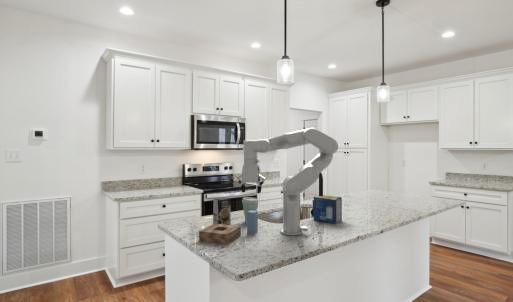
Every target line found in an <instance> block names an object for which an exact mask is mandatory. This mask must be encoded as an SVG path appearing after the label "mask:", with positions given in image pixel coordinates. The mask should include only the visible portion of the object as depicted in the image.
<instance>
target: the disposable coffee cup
mask: <svg viewBox="0 0 513 302" xmlns="http://www.w3.org/2000/svg"><path fill="white" fill-rule="evenodd" d="M241 202H242V207H243V216H244V221H245V222H246V223H247V212H248V211H250V210H252V211H258V205H259V200H258V198H256V197H249V196H248V197H247V196H246V197H242V200H241Z"/></svg>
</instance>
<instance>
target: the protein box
mask: <svg viewBox="0 0 513 302" xmlns="http://www.w3.org/2000/svg"><path fill="white" fill-rule="evenodd" d="M322 195H323V196H319V195H316V196H313V221H315V222H321V223H327V224H331V225H332V224H333V225H335V224H338V223H340V222H342V221H343V220H342V217H343V216H342V215H343V213H342V212H343V211H342V210H343V208H342V207H343V203H342V202H343V201H342V200H343V199H342V196H333V195H324V194H322Z"/></svg>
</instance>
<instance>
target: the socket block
mask: <svg viewBox="0 0 513 302" xmlns="http://www.w3.org/2000/svg"><path fill="white" fill-rule="evenodd" d="M241 228H242V227H241V226H240V225H232V224H230V225H224V224H213V223H212V224H211V225H208V226H206V227H204V228H203V229H200V230H199V231H198V241H199V242H205V243H212V244H220V245H226V246H227V245H229V244H230V243H232V242H234V241H235V240H236V239H238V238H239V237H241V233H242V232H241V231H242V229H241Z"/></svg>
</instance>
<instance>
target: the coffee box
mask: <svg viewBox="0 0 513 302" xmlns="http://www.w3.org/2000/svg"><path fill="white" fill-rule="evenodd" d="M231 199H232V198H230V197H229V198H228V197H220V198H219V197H217V198H213V201H212V202H213V204H212V205H213V207H212V208H213V211H212V212H213V214H212V215H213V216H212V225H213V224H224V225H232V224H231V218H232V217H231V216H232V215H231V210H232V209H231V207H232V206H231V204H232V203H231V202H232V201H231Z"/></svg>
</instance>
